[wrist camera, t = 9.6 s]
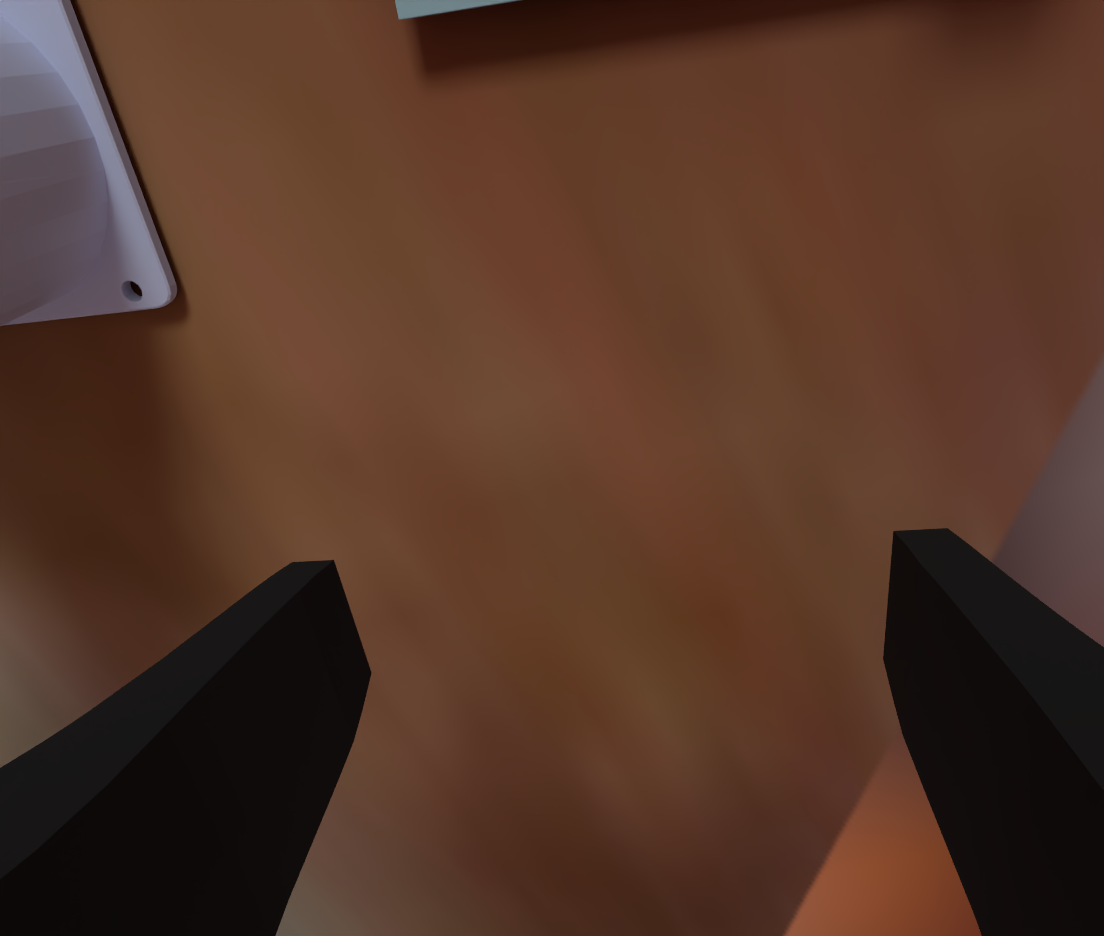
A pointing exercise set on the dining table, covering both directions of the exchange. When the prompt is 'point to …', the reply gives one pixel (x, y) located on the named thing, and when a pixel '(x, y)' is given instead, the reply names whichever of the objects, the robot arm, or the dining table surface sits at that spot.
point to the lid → (439, 6)
